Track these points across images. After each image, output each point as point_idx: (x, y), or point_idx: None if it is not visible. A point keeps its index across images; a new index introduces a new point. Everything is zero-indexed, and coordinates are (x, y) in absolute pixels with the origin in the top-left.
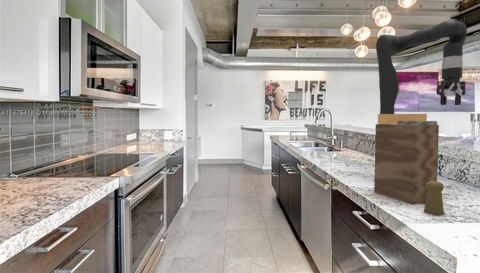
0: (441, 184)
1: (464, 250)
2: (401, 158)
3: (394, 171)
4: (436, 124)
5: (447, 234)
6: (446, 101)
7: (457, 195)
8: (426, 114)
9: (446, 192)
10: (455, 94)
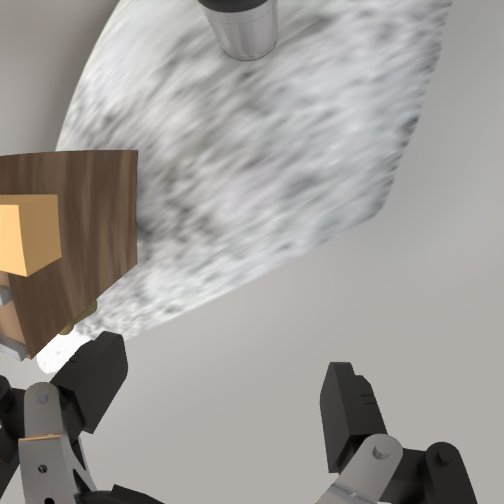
0: (62, 334)
1: (48, 366)
2: None
3: None
4: (26, 353)
5: (54, 345)
6: (114, 395)
7: (227, 253)
8: (28, 274)
9: (232, 223)
10: (343, 470)
